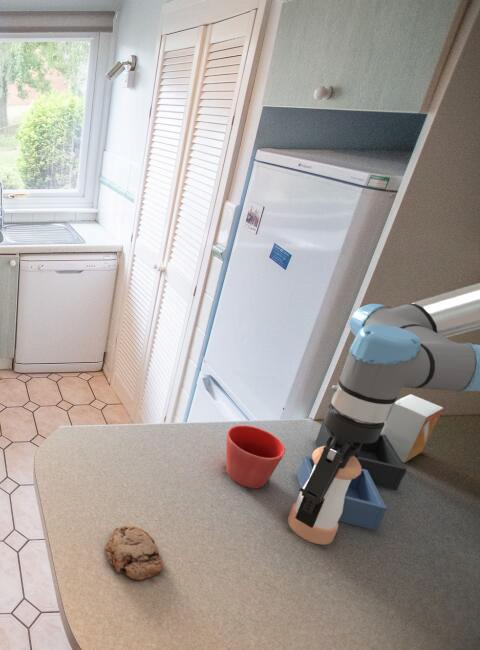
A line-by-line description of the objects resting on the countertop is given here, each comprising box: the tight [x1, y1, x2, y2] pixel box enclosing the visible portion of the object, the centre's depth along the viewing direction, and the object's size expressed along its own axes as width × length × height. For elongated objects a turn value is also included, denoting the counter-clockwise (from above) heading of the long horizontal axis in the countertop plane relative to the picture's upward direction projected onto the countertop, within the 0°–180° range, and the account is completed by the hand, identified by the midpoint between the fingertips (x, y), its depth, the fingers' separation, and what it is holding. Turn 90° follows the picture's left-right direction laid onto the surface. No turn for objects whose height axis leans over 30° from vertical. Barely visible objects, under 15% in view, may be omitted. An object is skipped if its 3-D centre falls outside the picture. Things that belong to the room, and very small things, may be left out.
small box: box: [381, 393, 444, 464], centre depth 106 cm, size 8×6×13 cm
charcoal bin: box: [315, 421, 407, 491], centre depth 103 cm, size 12×12×6 cm
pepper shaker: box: [287, 446, 361, 546], centre depth 84 cm, size 7×7×19 cm
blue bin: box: [296, 455, 387, 532], centre depth 93 cm, size 11×11×6 cm
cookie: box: [104, 525, 164, 581], centre depth 82 cm, size 10×11×3 cm
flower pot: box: [225, 424, 286, 489], centre depth 99 cm, size 11×11×10 cm
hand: (318, 505), depth 86 cm, fingers open, 13 cm apart
